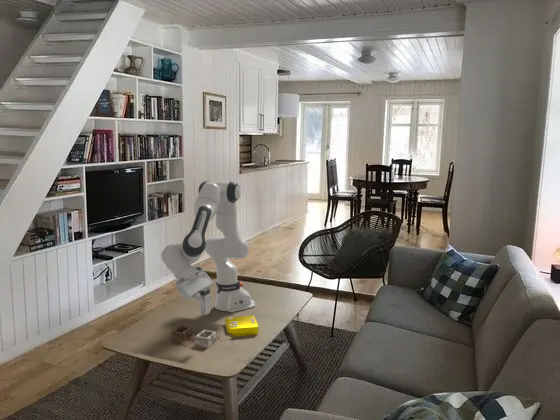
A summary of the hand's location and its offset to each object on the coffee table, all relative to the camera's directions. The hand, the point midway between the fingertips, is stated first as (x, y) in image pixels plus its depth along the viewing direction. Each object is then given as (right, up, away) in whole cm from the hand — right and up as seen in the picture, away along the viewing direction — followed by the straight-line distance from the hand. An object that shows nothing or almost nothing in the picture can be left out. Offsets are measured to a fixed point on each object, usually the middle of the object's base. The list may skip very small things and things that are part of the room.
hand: (206, 299), depth 209 cm
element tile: (+14, -19, +21) cm, 32 cm away
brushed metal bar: (-1, -6, +1) cm, 6 cm away
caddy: (-7, -21, +6) cm, 23 cm away
